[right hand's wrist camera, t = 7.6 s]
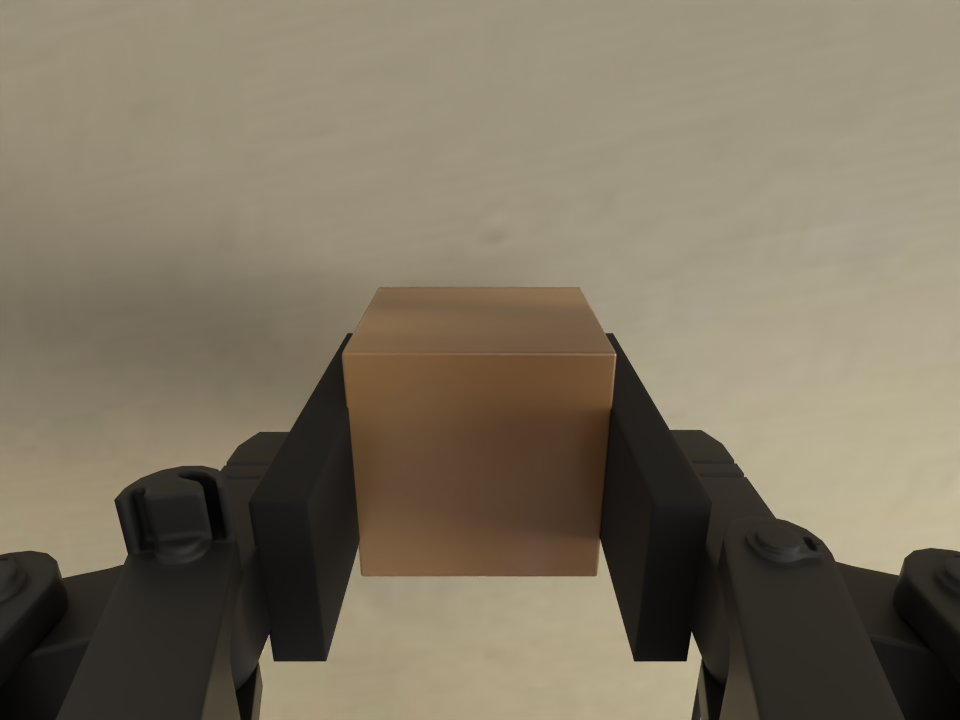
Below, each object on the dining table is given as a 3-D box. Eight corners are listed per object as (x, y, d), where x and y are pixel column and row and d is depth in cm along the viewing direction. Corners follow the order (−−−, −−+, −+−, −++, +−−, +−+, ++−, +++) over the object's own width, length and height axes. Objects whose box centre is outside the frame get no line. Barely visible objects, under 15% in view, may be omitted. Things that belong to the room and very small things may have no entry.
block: (389, 464, 16) (361, 577, 12) (378, 286, 14) (341, 352, 10) (569, 464, 16) (597, 577, 12) (580, 286, 14) (616, 352, 10)
